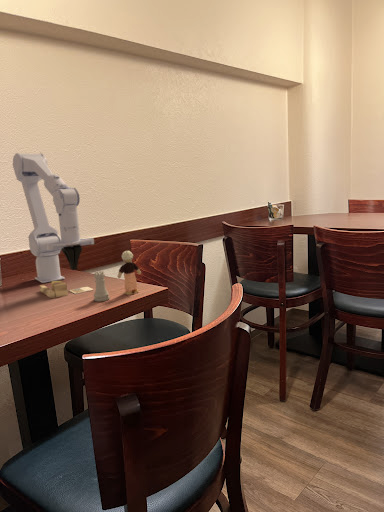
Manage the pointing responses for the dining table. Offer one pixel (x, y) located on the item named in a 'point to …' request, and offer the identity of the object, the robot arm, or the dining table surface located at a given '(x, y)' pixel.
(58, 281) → the alphabet block
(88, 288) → the card
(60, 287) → the maple cube
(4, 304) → the dining table surface
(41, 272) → the robot arm
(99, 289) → the rook chess piece
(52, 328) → the dining table surface
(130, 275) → the grandmother figurine
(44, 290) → the backstop
